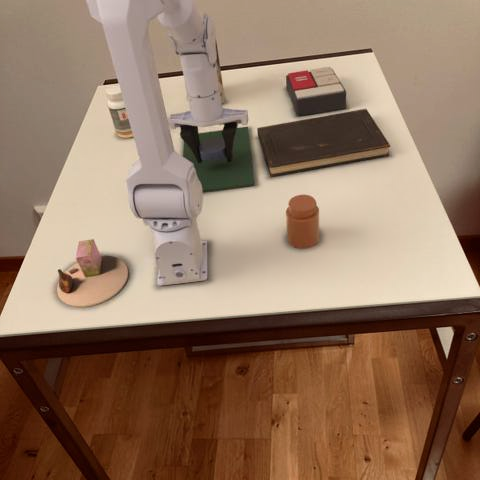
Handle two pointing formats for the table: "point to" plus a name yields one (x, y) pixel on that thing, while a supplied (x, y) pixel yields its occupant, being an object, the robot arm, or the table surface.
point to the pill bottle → (118, 112)
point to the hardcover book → (321, 142)
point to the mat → (224, 164)
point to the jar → (302, 221)
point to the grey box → (315, 91)
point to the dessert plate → (92, 277)
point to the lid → (212, 150)
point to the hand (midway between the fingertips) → (215, 159)
